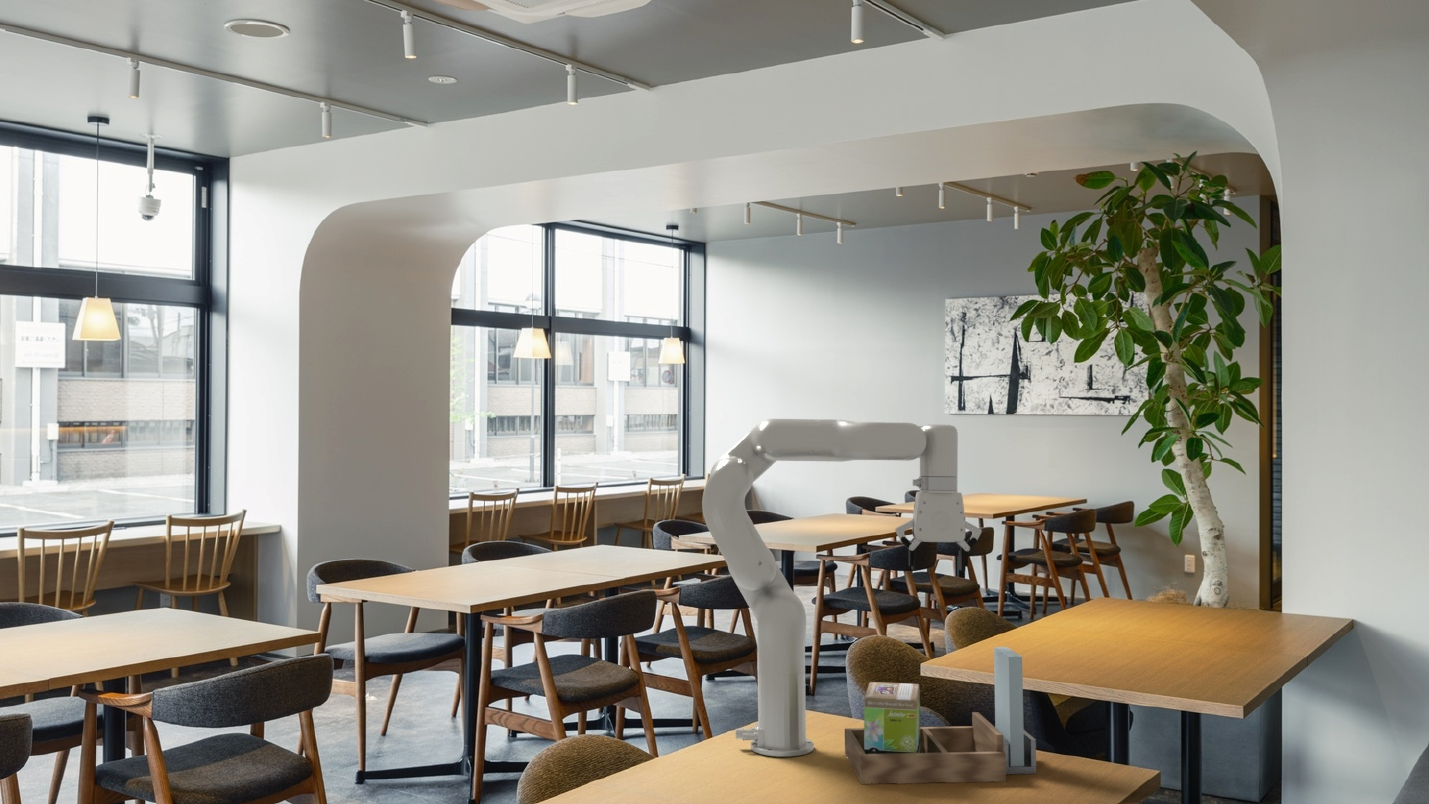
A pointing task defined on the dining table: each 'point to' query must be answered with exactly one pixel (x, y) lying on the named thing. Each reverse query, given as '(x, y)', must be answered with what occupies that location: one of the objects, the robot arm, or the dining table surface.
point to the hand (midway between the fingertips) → (938, 570)
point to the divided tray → (935, 756)
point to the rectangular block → (1009, 701)
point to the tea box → (892, 718)
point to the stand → (1028, 756)
